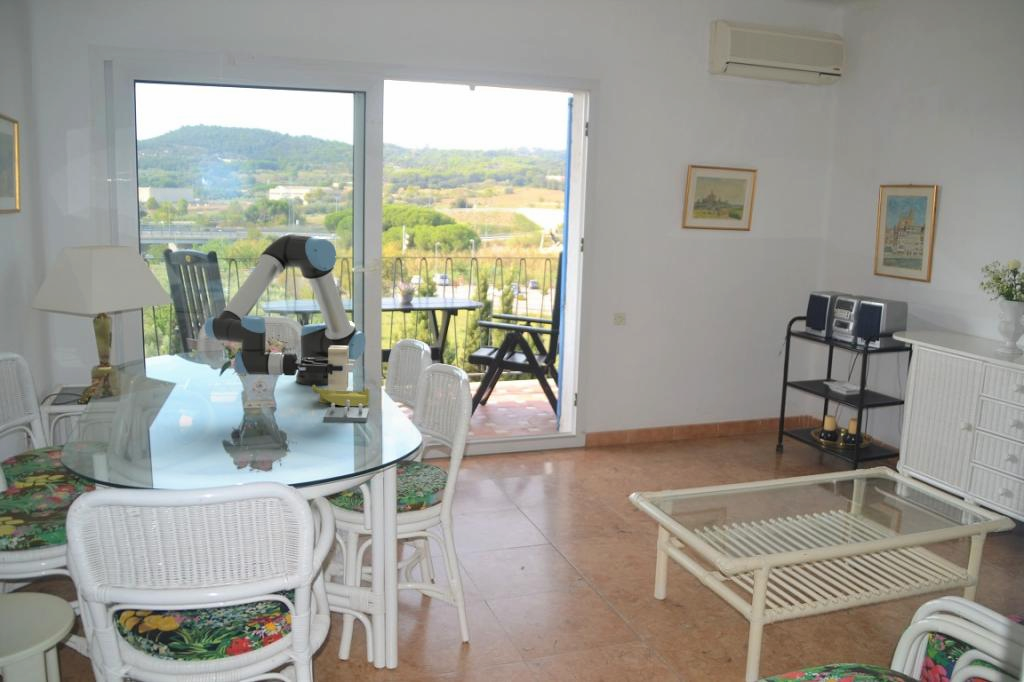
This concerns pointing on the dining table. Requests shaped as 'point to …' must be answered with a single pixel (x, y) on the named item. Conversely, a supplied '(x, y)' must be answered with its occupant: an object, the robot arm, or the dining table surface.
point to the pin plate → (346, 413)
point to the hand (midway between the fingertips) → (354, 366)
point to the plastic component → (342, 396)
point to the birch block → (338, 357)
